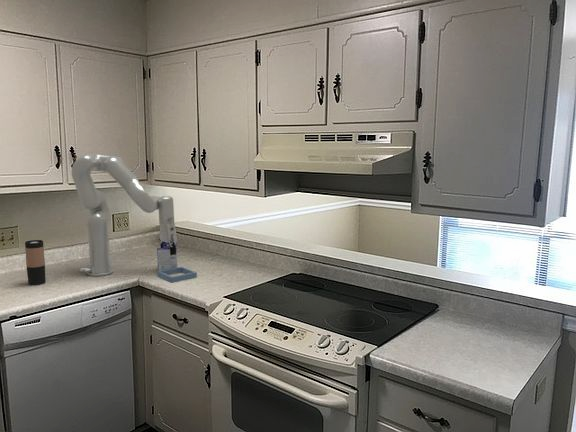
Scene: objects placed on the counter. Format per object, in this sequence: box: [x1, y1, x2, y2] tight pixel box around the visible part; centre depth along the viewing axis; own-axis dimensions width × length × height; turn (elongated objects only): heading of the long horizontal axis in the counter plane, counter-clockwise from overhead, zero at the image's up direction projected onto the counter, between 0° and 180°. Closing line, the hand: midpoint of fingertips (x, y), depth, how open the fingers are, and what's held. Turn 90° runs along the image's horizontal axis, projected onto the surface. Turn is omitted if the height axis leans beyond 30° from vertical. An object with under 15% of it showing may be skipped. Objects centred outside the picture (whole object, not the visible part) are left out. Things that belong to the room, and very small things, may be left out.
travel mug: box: [24, 239, 46, 286], centre depth 218 cm, size 8×8×20 cm
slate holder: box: [156, 266, 198, 283], centre depth 233 cm, size 14×14×2 cm
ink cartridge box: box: [156, 243, 178, 271], centre depth 243 cm, size 10×6×14 cm, turn 112°
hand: (168, 252), depth 243 cm, fingers open, 9 cm apart
